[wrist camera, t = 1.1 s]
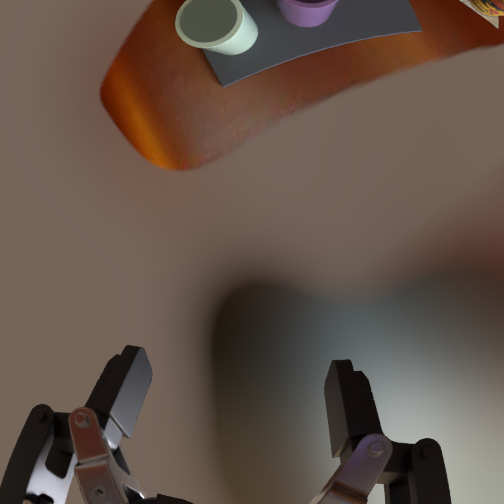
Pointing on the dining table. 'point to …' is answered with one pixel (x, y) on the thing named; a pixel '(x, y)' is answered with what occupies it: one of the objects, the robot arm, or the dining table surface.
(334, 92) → the dining table surface
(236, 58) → the placemat
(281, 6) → the purple tumbler
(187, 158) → the dining table surface
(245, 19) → the celadon tumbler
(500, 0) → the condiment
